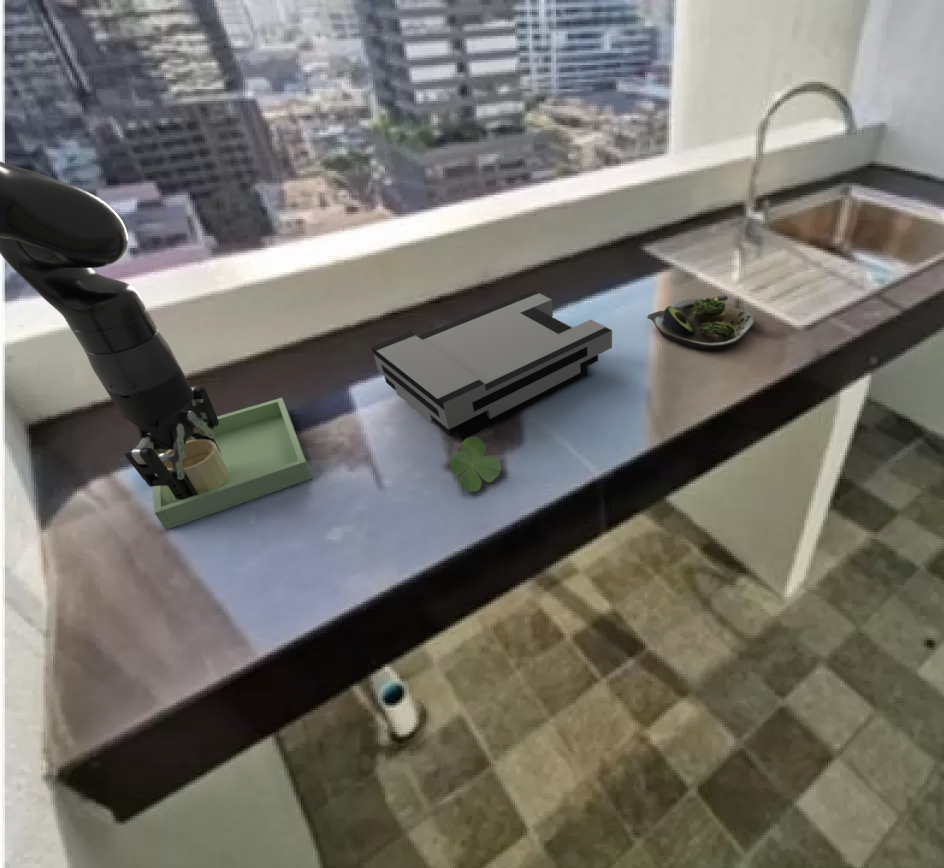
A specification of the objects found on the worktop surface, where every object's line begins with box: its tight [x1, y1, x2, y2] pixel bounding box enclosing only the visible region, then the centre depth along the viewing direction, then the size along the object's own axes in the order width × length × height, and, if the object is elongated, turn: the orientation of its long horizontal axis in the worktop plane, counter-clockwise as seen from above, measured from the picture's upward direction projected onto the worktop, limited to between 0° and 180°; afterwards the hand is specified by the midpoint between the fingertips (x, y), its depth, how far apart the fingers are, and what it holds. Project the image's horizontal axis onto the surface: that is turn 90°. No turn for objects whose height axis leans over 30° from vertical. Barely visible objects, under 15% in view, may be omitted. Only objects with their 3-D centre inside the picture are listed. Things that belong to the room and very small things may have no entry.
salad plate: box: [646, 295, 754, 352], centre depth 114 cm, size 19×18×5 cm
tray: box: [152, 397, 313, 531], centre depth 84 cm, size 18×18×3 cm
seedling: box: [447, 436, 502, 492], centre depth 82 cm, size 7×8×7 cm
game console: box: [371, 290, 613, 441], centre depth 99 cm, size 21×32×8 cm, turn 133°
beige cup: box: [165, 439, 229, 494], centre depth 79 cm, size 6×6×5 cm
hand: (201, 478), depth 80 cm, fingers closed on beige cup, 6 cm apart
